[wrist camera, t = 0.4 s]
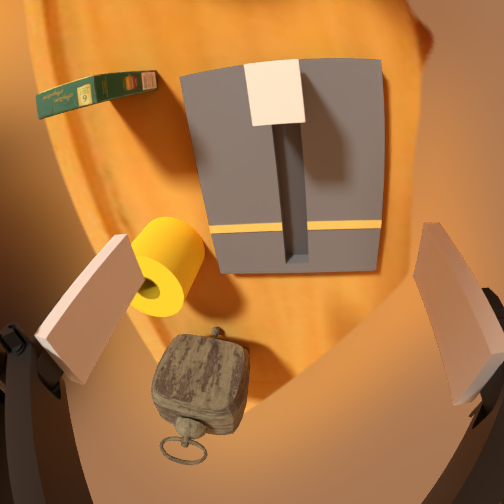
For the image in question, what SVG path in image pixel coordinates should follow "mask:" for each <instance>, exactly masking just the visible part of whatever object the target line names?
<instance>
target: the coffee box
mask: <svg viewBox="0 0 504 504" xmlns="http://www.w3.org/2000/svg"><path fill="white" fill-rule="evenodd" d="M155 90H158V84H157V75H156V70H150V71H131V72H119V73H108V74H98V75H92V76H88V77H85V78H81V79H78V80H75V81H71V82H68V83H65V84H62V85H59V86H57V87H54V88H51V89H49V90H46V91H43V92H41V93H39V94H37V95H36V103H37V111H38V118H39V119H44V118H47V117H50V116H53V115H57V114H60V113H64V112H67V111H71V110H75V109H78V108H82V107H86V106H90V105H93V104H97V103H101V102H105V101H109V100H113V99H117V98H122V97H126V96H130V95H135V94H140V93H145V92H150V91H155Z"/></svg>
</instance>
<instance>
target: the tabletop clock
mask: <svg viewBox="0 0 504 504" xmlns="http://www.w3.org/2000/svg"><path fill="white" fill-rule="evenodd" d="M212 334H213V338H210V337H203V336H197V335H190V334H182V335H177V336H176V337H175V338H174V339H173V341H172V342H171V343H170V345H169V346H168V347H167V349H166V350H165V352H164V354H163V356H162V358H161V360H160V361H159V363H158V366H157V369H156V372H155V375H154V378H153V381H152V388H151V395H152V400H153V402H154V404H155V406H156V408H157V410H158V411H159V414H160V416H161V417H162V418H163V419H165V420H166V421H167V422H169V423H171V424H173V425H174V426H175V429H176V431H177V432H178V434H180V435H181V436H183V437H168V438H165V439H163V440H162V441H161V443H160V450H161V452H162V453H163V455H164V456H166V457H167V458H168V459H170V460H172V461H174V462H177V463H180V464H185V465H194V464H199V463H201V462H203V461H204V460H205V459H206V457H207V451H206V449H205V448H204V446H202V445H201V444H199V443H198V442H196V441H193V440H191V439H198V438H200V437H202V436H203V435H205V433H208V434H215V435H227V434H233V433H234V432H235V430H236V429H237V428H238V426H239V424H240V422H241V420H242V417H243V413H244V410H245V406H246V403H247V393H248V383H249V372H250V358H249V350H248V349H247V348H243V347H242V346H240V345H238V344H236V343H233V342H229V341H224V340H219V339H216V336H218V335H219V334H220V328H219V327H213V328H212ZM166 441H181V442H182V443H181V445H182V446H183V447H188V445H189V444H192V445H195V446H197V447H199V448H200V449H202V450H203V451H204V456H203V457H202V458H201V459H199V460H196V461H186V460H181V459H178V458H175V457H173V456H170V455H169V454H168V453H166V451H165V450H164V448H163V444H164V443H165V442H166Z"/></svg>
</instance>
